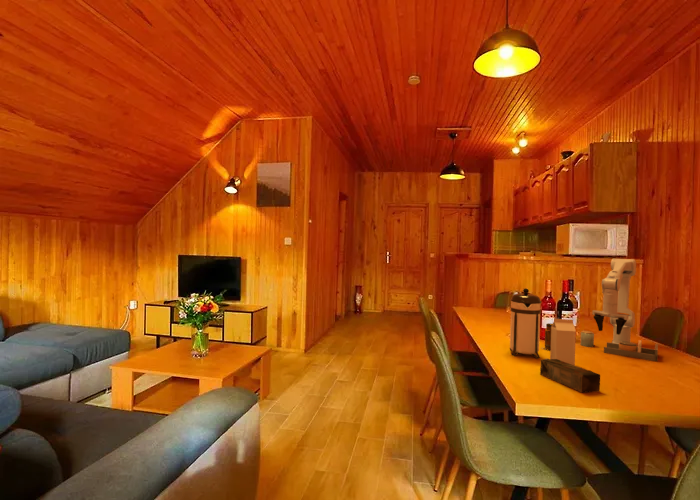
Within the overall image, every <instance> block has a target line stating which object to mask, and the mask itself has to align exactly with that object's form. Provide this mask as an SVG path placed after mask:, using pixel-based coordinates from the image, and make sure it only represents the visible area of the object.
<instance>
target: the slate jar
mask: <svg viewBox="0 0 700 500" xmlns="http://www.w3.org/2000/svg"><path fill="white" fill-rule="evenodd" d="M594 345H595V333H594V332H593V331H591V330H581V331H580V346H582V347H586V348H594Z"/></svg>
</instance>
